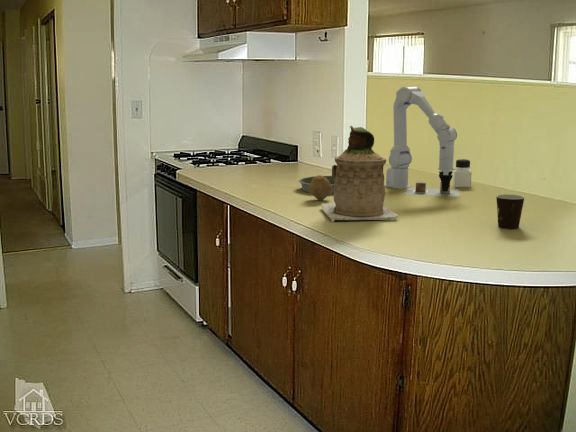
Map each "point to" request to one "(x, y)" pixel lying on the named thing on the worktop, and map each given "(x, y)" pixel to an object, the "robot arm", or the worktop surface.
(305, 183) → the cake pan
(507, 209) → the coffee mug
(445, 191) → the maple block
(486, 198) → the worktop surface
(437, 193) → the grey flat slab
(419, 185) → the walnut block
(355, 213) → the cookie jar
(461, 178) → the medicine bottle
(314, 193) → the natural sponge
